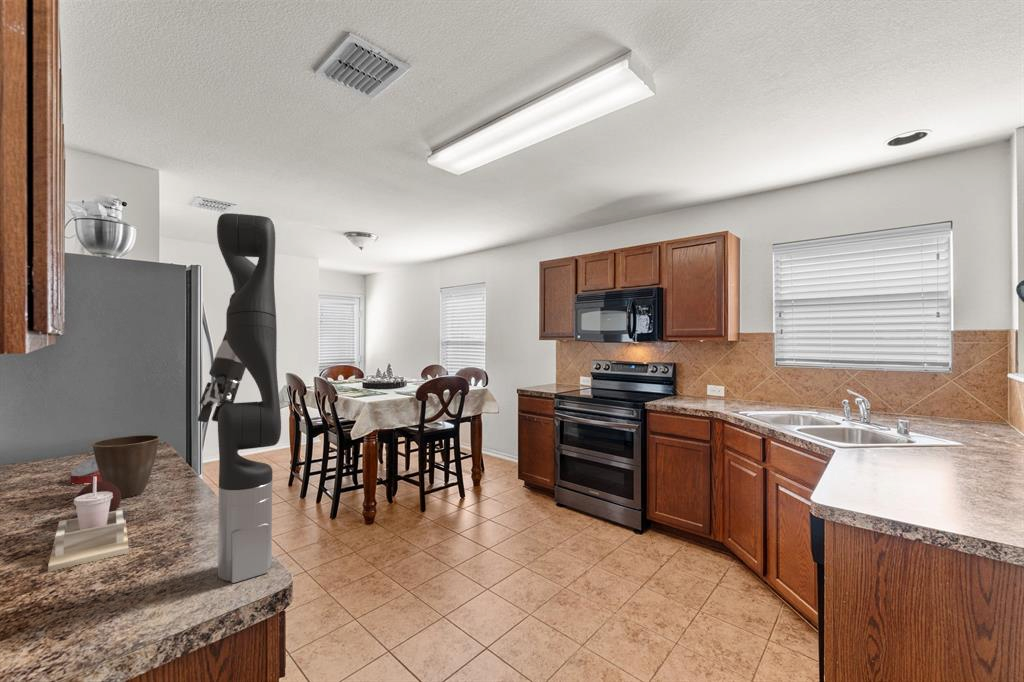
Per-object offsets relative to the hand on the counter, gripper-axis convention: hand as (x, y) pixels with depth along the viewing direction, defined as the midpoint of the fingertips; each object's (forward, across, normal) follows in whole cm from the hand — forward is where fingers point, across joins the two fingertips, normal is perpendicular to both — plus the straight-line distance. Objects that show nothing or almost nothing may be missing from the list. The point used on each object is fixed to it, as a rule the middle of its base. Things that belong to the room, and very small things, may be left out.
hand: (209, 421), depth 114 cm
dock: (+30, -8, -11) cm, 33 cm away
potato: (+26, -27, -7) cm, 39 cm away
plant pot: (+21, -44, +2) cm, 48 cm away
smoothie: (+29, -8, -11) cm, 32 cm away
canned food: (+19, -69, -2) cm, 72 cm away
